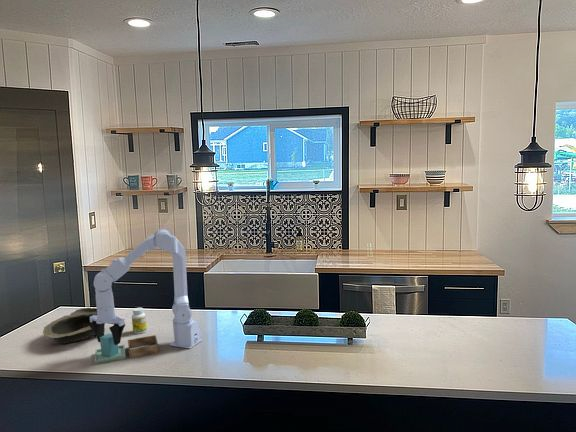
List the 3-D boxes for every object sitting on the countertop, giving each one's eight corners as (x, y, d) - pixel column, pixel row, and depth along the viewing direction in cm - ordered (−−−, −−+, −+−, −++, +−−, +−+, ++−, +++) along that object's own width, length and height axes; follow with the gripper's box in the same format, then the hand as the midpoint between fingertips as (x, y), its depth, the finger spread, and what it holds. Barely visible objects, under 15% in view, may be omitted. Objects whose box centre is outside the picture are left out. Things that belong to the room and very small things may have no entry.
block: (118, 353, 161) (116, 334, 160) (110, 357, 158) (108, 338, 157) (110, 351, 163) (108, 333, 162) (101, 356, 159) (99, 337, 158)
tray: (124, 348, 167) (124, 344, 167) (125, 358, 158) (125, 354, 157) (95, 353, 163) (95, 349, 163) (95, 364, 154) (94, 360, 154)
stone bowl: (122, 325, 191) (120, 304, 189) (92, 355, 166) (88, 332, 164) (68, 324, 193) (64, 304, 191) (30, 354, 169) (26, 331, 167)
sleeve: (156, 342, 171) (155, 335, 170) (158, 352, 162) (158, 344, 161) (128, 347, 167) (127, 339, 167) (129, 358, 158) (128, 350, 158)
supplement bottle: (149, 330, 184) (147, 307, 182) (139, 335, 179) (137, 312, 178) (140, 328, 186) (138, 306, 185) (130, 333, 182) (128, 310, 180)
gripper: (81, 307, 157) (85, 344, 159) (112, 311, 151) (116, 349, 153) (96, 301, 164) (100, 337, 165) (127, 305, 158) (131, 341, 160)
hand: (109, 342), depth 160 cm, fingers open, 7 cm apart
